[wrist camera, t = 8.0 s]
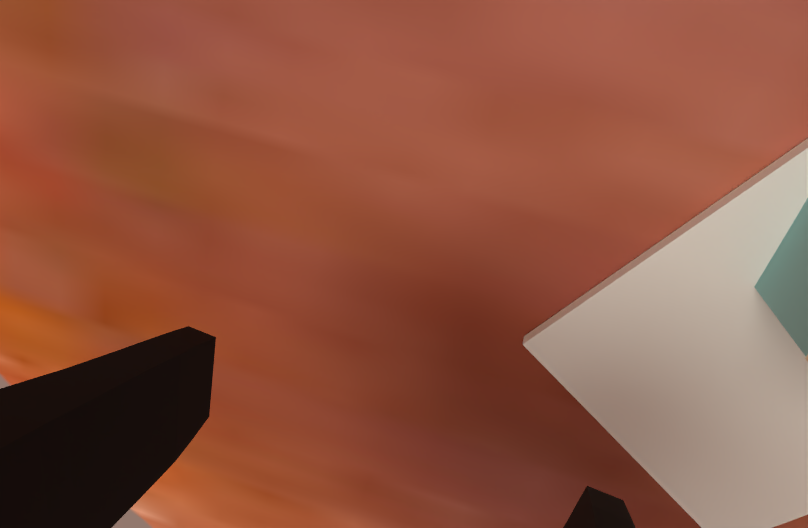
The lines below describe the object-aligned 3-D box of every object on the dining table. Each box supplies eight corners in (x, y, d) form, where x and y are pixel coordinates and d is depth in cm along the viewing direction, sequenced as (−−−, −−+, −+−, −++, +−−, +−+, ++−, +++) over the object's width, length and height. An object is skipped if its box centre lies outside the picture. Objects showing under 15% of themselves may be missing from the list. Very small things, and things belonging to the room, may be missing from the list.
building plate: (1183, 355, 14) (1207, 367, 14) (716, 533, 20) (720, 546, 20) (928, 53, 13) (943, 54, 13) (524, 336, 20) (522, 344, 19)
